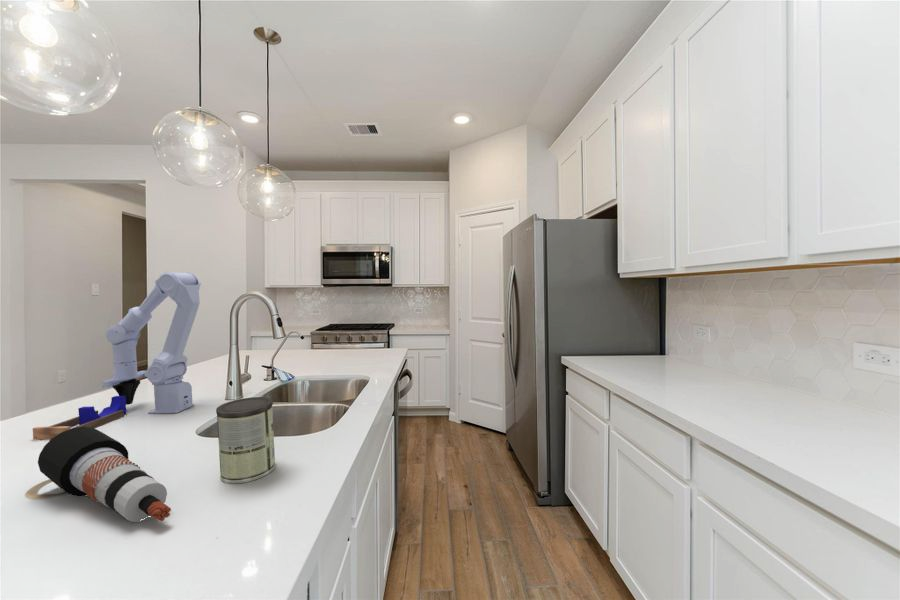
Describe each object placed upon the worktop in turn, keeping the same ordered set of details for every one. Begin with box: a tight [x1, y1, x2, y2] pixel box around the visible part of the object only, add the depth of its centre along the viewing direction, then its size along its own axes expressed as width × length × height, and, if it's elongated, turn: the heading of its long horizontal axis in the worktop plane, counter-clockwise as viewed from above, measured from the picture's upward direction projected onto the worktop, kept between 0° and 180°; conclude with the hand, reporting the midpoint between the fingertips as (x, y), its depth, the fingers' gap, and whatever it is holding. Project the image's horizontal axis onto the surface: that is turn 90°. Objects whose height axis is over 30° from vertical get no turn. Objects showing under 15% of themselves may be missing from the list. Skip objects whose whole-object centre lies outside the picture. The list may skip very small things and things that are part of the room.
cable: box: [37, 426, 172, 523], centre depth 69 cm, size 10×34×10 cm, turn 59°
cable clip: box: [77, 395, 127, 426], centre depth 114 cm, size 12×4×6 cm, turn 0°
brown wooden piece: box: [32, 410, 125, 441], centre depth 109 cm, size 9×17×3 cm, turn 178°
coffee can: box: [215, 396, 277, 485], centre depth 79 cm, size 10×10×14 cm
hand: (127, 404), depth 124 cm, fingers closed
